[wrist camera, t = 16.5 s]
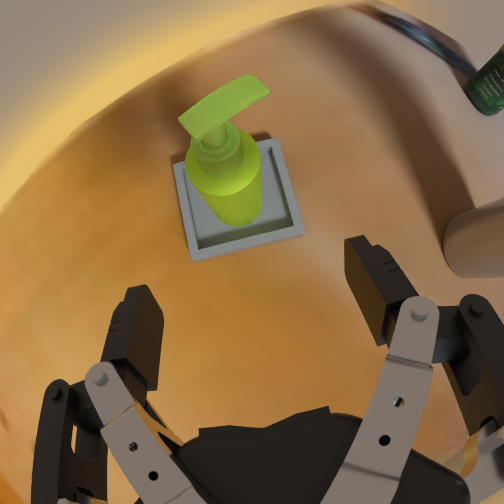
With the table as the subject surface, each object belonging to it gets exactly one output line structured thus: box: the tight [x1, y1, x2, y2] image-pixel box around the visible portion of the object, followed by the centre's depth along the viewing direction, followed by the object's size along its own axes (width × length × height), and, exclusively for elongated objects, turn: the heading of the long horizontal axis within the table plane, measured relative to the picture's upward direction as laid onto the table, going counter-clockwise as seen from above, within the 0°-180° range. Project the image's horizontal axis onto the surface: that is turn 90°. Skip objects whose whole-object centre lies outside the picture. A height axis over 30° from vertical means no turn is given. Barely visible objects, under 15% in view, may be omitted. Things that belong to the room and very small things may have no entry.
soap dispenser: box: [178, 74, 271, 227], centre depth 25 cm, size 6×7×20 cm
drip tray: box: [173, 138, 305, 262], centre depth 34 cm, size 13×12×2 cm
